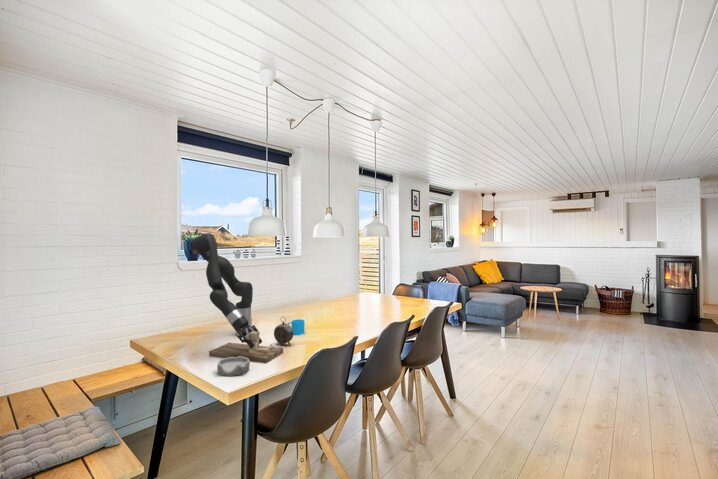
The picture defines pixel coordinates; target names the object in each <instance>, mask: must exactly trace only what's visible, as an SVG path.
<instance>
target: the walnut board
mask: <svg viewBox="0 0 718 479" xmlns="http://www.w3.org/2000/svg"><path fill="white" fill-rule="evenodd" d="M266 347H268V345H267V346H266V345H259V348H266ZM280 354H281V355H282V354H284V347H277V346H273V349H271V350H270V353H268V354H266V355H265V354H257V353H249V345H248V344H247V343H237V342H227V343H225V344H223V345H220V346H218V347H216V348H214V349H211V350H208V357H213V358H220V359H224V358H228V357H238V356H241V357H246V358H248V359H249V362H253V363H261V364H262V363H263V364H267V363H269V362H271V361H273V360H274V359H276V358H277V357H279V356H281V355H280ZM278 355H279V356H278ZM275 357H276V358H275ZM272 359H273V360H272Z"/></svg>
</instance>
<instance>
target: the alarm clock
mask: <svg viewBox="0 0 718 479" xmlns="http://www.w3.org/2000/svg"><path fill="white" fill-rule="evenodd" d="M282 318H284V321H282V320H280V322H282V323H280V324H278V325H277V326H276V327H274V330H273V337H274V339H275V340H276V342H277V344H279V346H280V347H281V346H282V345H283V344H284V345H286V344H287V343H288V345H289V346H291V343H290V342H291V341H292V340H293V337H294V335H293V330H292V326H290V324H289V325H288V323H285V322H286V321H287V320H286V319H287V318H286V317H285V316H281V317H280V319H282Z"/></svg>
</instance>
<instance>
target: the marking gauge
mask: <svg viewBox="0 0 718 479" xmlns="http://www.w3.org/2000/svg"><path fill="white" fill-rule="evenodd" d="M259 332H260V331H259ZM259 332H253V331H252V332H250V333H249V339H250V340H251V341H252V343H253V344H254V347H253V348H250V347H249V353H257V354H265V355H266V354H268V353H270V350H271V349H273V347H274V345H273V344H269V346H268V345H267V347H266V348H259V346H260V344H259V337H260V334H259Z"/></svg>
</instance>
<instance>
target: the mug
mask: <svg viewBox="0 0 718 479" xmlns="http://www.w3.org/2000/svg"><path fill="white" fill-rule="evenodd" d="M287 324H288V325H290V324H291V328H292V330H293V336H302V335H301V334H303V335H304V334H305V332H306V331H305V319H292V320H291V321H290V322H288V323H287Z"/></svg>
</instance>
